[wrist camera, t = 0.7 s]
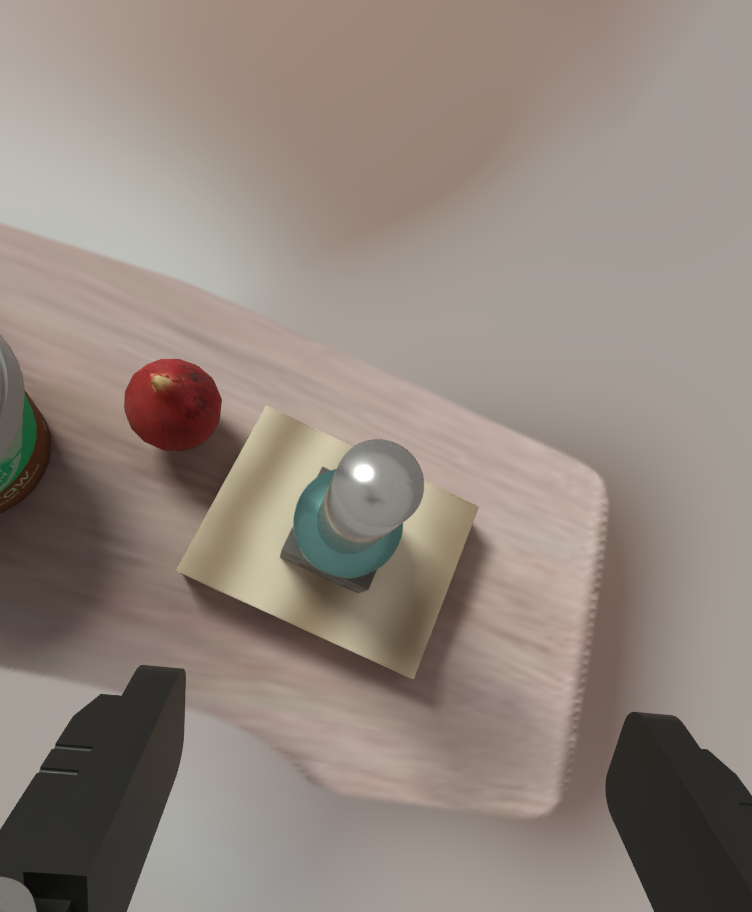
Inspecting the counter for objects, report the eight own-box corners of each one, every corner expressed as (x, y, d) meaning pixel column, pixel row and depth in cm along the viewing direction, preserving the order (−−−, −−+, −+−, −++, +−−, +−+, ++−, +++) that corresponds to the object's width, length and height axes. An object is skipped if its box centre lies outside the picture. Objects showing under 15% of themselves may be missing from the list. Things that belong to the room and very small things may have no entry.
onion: (207, 374, 41) (193, 319, 34) (237, 445, 40) (230, 404, 33) (126, 402, 40) (93, 350, 32) (155, 476, 39) (128, 441, 31)
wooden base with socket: (182, 574, 37) (164, 564, 31) (266, 420, 41) (266, 381, 35) (403, 675, 38) (431, 686, 32) (464, 514, 42) (501, 494, 35)
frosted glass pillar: (273, 559, 36) (277, 518, 22) (314, 475, 38) (342, 387, 24) (360, 599, 36) (420, 585, 22) (397, 514, 38) (473, 450, 24)
